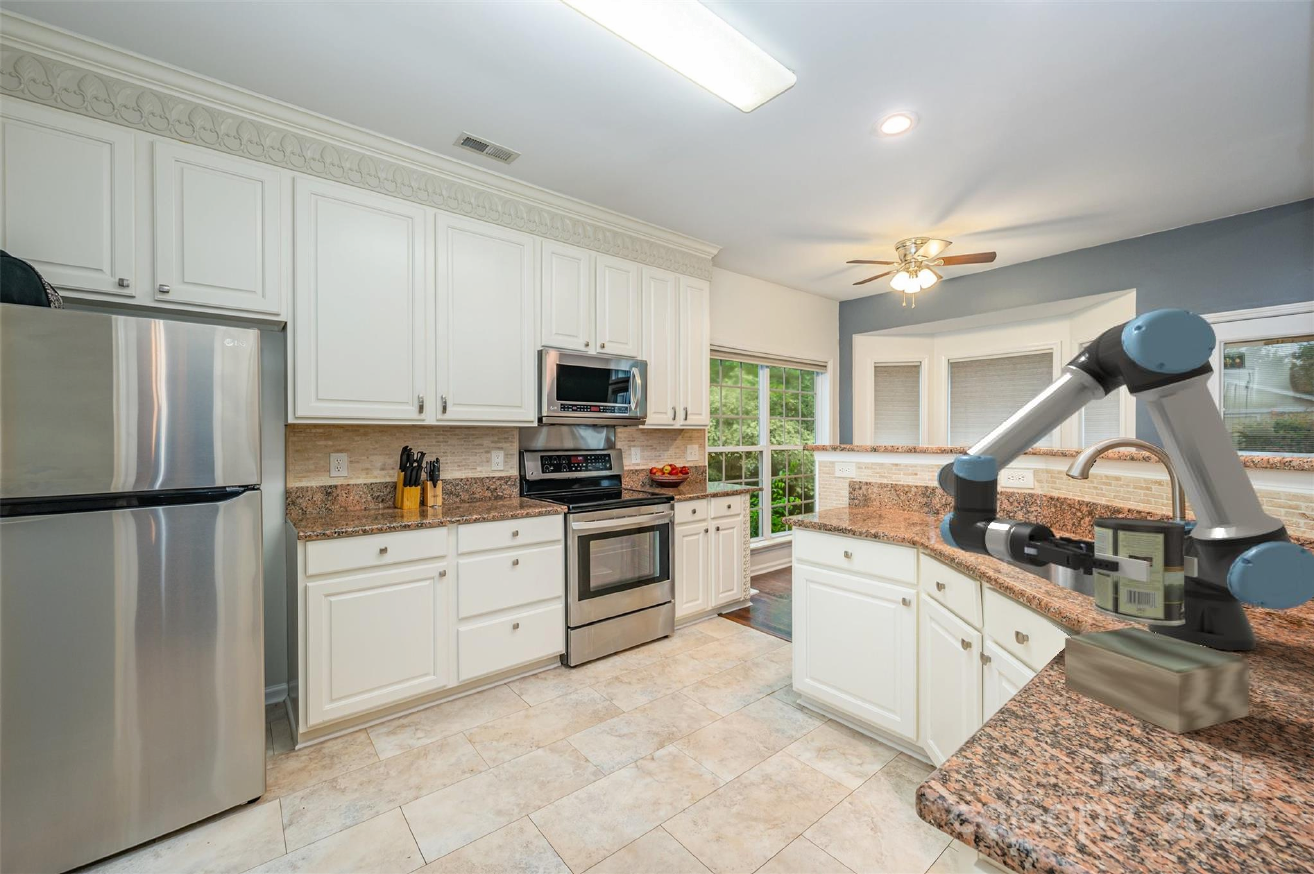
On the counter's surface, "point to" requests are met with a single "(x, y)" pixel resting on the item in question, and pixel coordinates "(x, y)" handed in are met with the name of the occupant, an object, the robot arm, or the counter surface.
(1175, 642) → the riser
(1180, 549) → the coffee can
